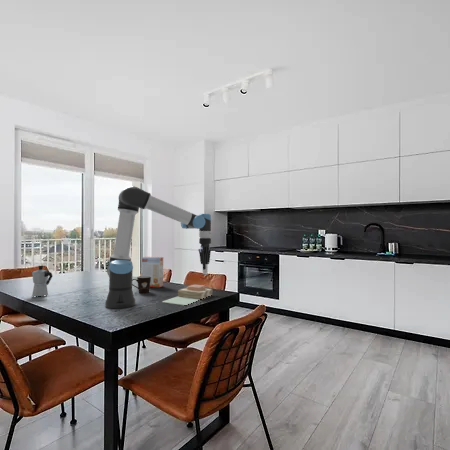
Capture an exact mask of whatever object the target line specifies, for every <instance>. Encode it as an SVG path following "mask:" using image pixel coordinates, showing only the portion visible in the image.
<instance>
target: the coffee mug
mask: <svg viewBox="0 0 450 450" xmlns="http://www.w3.org/2000/svg"><path fill="white" fill-rule="evenodd" d="M136 277H137V279H136V278H134V279H133V278H132V282H133V281H136V282H137V286H136V285H135V284H133V283H132V287H135V288H137V290H138V294H148V293H150V288H151V287H150V281H151V276H142V275H139V276H136Z"/></svg>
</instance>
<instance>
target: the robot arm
mask: <svg viewBox="0 0 450 450" xmlns="http://www.w3.org/2000/svg"><path fill="white" fill-rule="evenodd" d="M140 209H142V210H150V211H152V212H154V213H157V214H160V215H161V216H164V217H166V218H169V219H171V220H174V221H176V222H179V223H180V226H181V229H186V230H188V229H197V230H198V231H199V232H198V236H199V238H198V239H199V243H198V244H200V248H198V252H199V261H200V264H201V265H202V275H208V271H209V270H208V268H209V266H208V265H209V264H210V261H211V252H212V247H210V244H212V238H211V237H212V231H211V230H212V217H211V214H209V213H200V214H195V213H193V212H190V211H188V210H186V209H183V208H181V207H179V206H176V205H173V204H171V203H169V202H167V201H165V200H162V199H161V198H157V197H156V196H152V193H150V192H148V191H146V190H144V189H141V188H139V187H137V186H135V185H130V186H129V185H128V186H126V187H125V188H123V189H122V190H121V191H120V193H119V194H118V204H117V211H118V212H119V217H118V222H117V228H116V234H115V241H114V247H113V248H114V249H113V253H112V254H111V255H110V256H109V261H108V265H107V268H106V273H107V276H108V277H109V278H108V279H109V281H108V293H107V298H106V300H105V301H104V307H105V308H108V309H127V308H130V307H134V306H135V305H136V298H135V295H134V292H133V285H132V284H133V281H132V280H133V269H134V265H133V262H132V258H131V256H130V250H131V245H132V237H133V231H134V225H135V220H136V219H135V218H136V215H137V214H138V213H139V210H140Z"/></svg>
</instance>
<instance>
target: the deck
mask: <svg viewBox="0 0 450 450" xmlns="http://www.w3.org/2000/svg"><path fill="white" fill-rule="evenodd" d="M211 295H212V296H213V288H207V287H205V289H203V290H200V291H193V290H187V287H184V288H180V289H178V290H177V296H178V297H185V298H193V299H202V300H204V299H207V298H209V297H208V296H210V297H211ZM206 297H207V298H206ZM203 298H204V299H203Z"/></svg>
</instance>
